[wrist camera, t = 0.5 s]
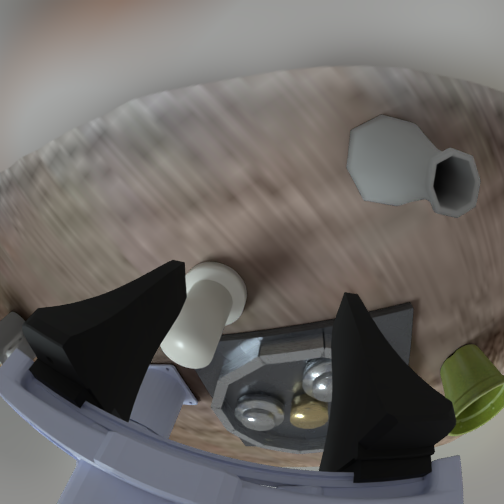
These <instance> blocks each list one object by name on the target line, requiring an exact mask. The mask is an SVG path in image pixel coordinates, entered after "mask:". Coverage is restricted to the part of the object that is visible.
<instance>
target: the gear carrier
mask: <svg viewBox="0 0 504 504" xmlns="http://www.w3.org/2000/svg"><path fill="white" fill-rule="evenodd" d="M369 314H370V315H371V317H372V319H373V320H374V322H375V323H376V325H377V327H378V328H379V330H380V331H381V332H382V334H383V335H384V337H385V338H386V339H387V341H388V342H389V344H390V345H391V346H392V348H393V349H394V350H395V351H396V352H397V354H398V355H399V356H400V357H401V358H402V359H403V361H404V362H405V363H406V364H407V365H408V364H409V356H410V347H411V336H412V323H413V306H412V305H411V303H410V302H409V303H405V304H401V305H397V306H392V307H388V308H384V309H380V310H375V311H371V312H369ZM334 321H335V319H331V320H326V321H320V322H315V323H309V324H303V325H297V326H290V327H284V328H277V329H270V330H262V331H254V332H246V333H238V334H229V335H221V337H220V340H219V343H218V345H217V348H216V351H215V353H214V356H213V358H212V361H211V363H210V364H209V365H207V366H206V367H203V368H198V369H195V371H196V372H197V374H198V376H199V377H200V379H201V381H202V382H203V384H204V385H205V387H206V389H207V390H208V392H209V393H210V395H211V397H212V398H213V400H212V404H211V408H212V410H213V411H214V413H215V414H216V415H217V417H218V418H219V420H220V421H221V422H222V424H223V425H224V427H225V428H226V429H227V431H229V432H230V433H232V434H234V435H236V436H238V437H239V438H240V439H241V440H242V442H243V443H244V445H245V446H258V447H260V448H265V449H271V450H276V451H282V452H289V453H296V454H305V453H317V452H323V451H324V446H325V441H326V436H327V430H328V424H329V417H330V409H331V401H332V360H331V339H332V327H333V324H334Z"/></svg>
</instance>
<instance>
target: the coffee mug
mask: <svg viewBox="0 0 504 504" xmlns="http://www.w3.org/2000/svg"><path fill="white" fill-rule="evenodd" d="M24 322H25V321H24V319H23V318H22V317H20V316H19V315H18V314H17V313H15V312H10V313H9V314H8V315H7V316H6V317H4V318H3V319H2V320H1V321H0V367H1V366H2V365H3V363H4V362H5V361H6V360H7V359H8V357H9V356H10V355H11V354H12V353H13V352H14V350H15V349H16V348H18V349H19V350H20V351H22V352H23V353H24V354H26V355H27V356H28V357H29V358H31V359H32V360H33V359H34V358H35V357H36V355H35V353H34V352H33V350H32V348H31V347H30V345H29V343H28V342H27V340H26V338H25V336H24V334H23V331H22V324H23V323H24Z"/></svg>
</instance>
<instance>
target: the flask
mask: <svg viewBox="0 0 504 504" xmlns="http://www.w3.org/2000/svg"><path fill="white" fill-rule="evenodd" d="M346 168H347V169H348V171H349V173H350V175H351V177H352V179H353V181H354V182H355V184H356V186H357V188H358V190H359V192H360V194H361V196H362V198H363V200H365V201H371V202H376V203H382V204H387V205H393V206H400V205H403V204H406V203H409V202H413V201H418V200H423V199H426V200H428V201H430V203H431V205H432V208H433V210H434V212H435V213H438V214H442V215H446V216H451V217H455V218H458V217H460V216H462V215H463V214H465V213H466V212H468V211H470V210H471V209H473V208H474V207H476V202H477V198H478V193H479V187H480V182H481V181H480V177H479V174H478V170H477V167H476V164H475V161H474V158H473V156H472V155H469V154H467V153H464V152H461V151H459V150H456V149H453V148H448V149H446V150H444V151H441V150H439V149H437V148H436V147H435V146H434V145H433V143H432V142H431V141H430V140H429V139H428V138H427V137H426V136H425V135H424V133H423V132H422V131H421V130H420V128H419V127H418V126H417V125H416V124H415V123H412V122H409V121H405V120H401V119H398V118H394V117H390V116H386V115H382V114H381V115H379V116H377V117H375V118H373V119H371V120H370V121H368V122H366V123H364V124H362V125H360V126H358V127H356V128H354V129H352V130H351V131H350V141H349V150H348V159H347V167H346Z"/></svg>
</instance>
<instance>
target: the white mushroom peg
mask: <svg viewBox="0 0 504 504" xmlns="http://www.w3.org/2000/svg"><path fill="white" fill-rule="evenodd" d="M185 277H186V291H187V298H186V301H185V303H184V305H183V308H182V310H181V312H180V314H179V316H178V317H177V319H176V321H175V322H174V324H173V325H172V327H171V329H170V330H169V332H168V333H167V335H166V337H165V338H164V340H163V341H162V343H161V344H160V346H161V348H162V350H163V352H164V353H165V354H166V355H167V356H168V357H169V358H170V359H171V360H172V361H174V362H175V363H177V364H179V365H181V366H184V367H187V368H193V369H198V368H203V367H206V366H207V365H209V364H210V363H211V361H212V358H213V356H214V353H215V351H216V348H217V345H218V343H219V340H220V337H221V335H222V332H223V330H224V327H225V326H226V325H229V324H231V323H233V322H235V321H236V320H237V319H238V318H239V317H240V316H241V314H242V312H243V309H244V306H245V303H246V299H247V289H246V285H245V283H244V281H243V279H242V278H241V277H240V275H239V274H238V273H237V272H236V271H235V270H233V269H232V268H230V267H229V266H227V265H225V264H222V263H218V262H203V263H200V264H197V265H196V266H194V267H193V268H192V269H191V270H190V271H189V272H188V273H187V275H186V276H185Z"/></svg>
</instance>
